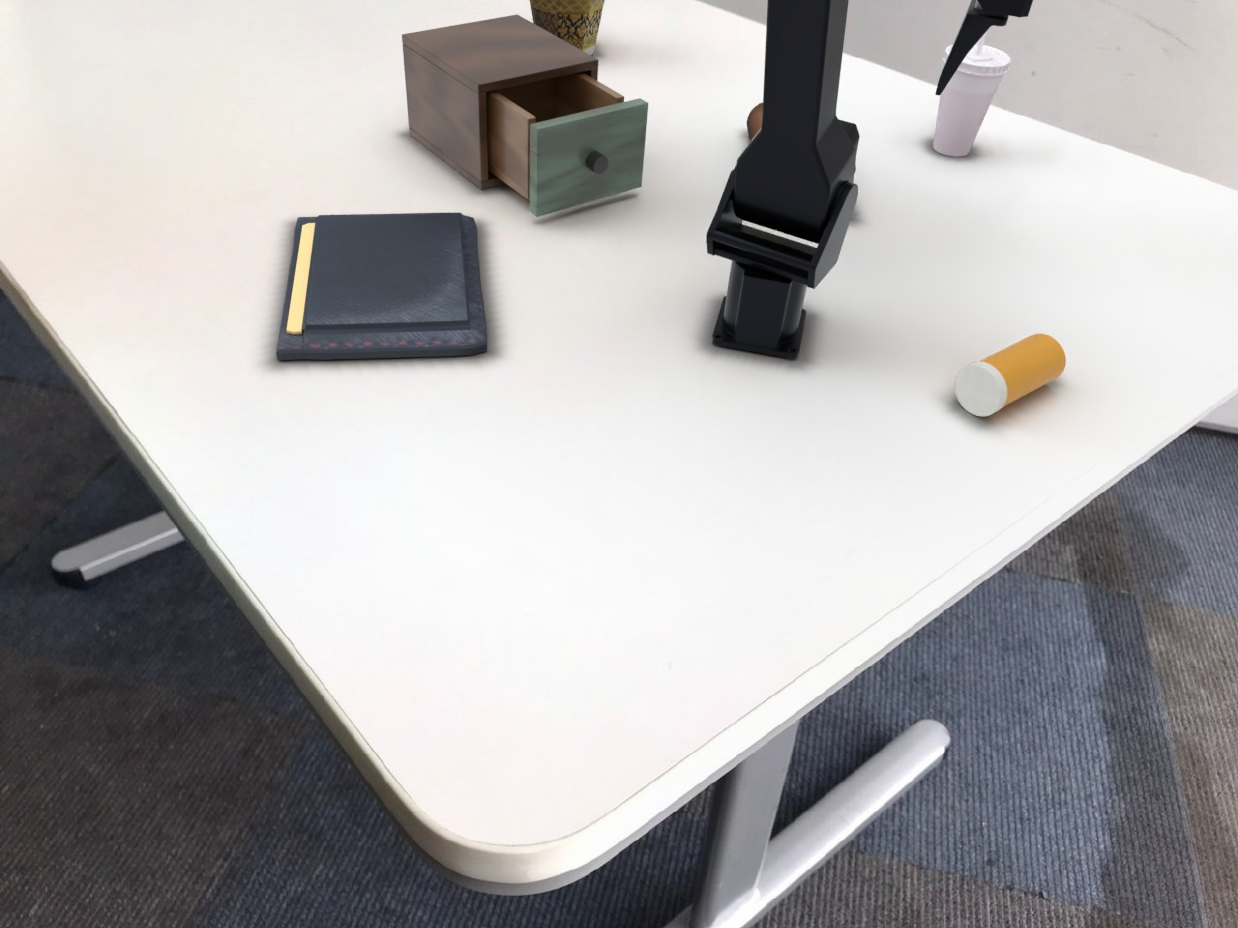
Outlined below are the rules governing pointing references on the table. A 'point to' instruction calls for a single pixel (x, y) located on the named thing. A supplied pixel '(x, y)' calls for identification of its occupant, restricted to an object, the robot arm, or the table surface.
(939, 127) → the smoothie
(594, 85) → the drawer
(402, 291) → the wallet
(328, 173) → the table surface
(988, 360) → the tube
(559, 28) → the ceramic cup
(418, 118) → the cabinet
